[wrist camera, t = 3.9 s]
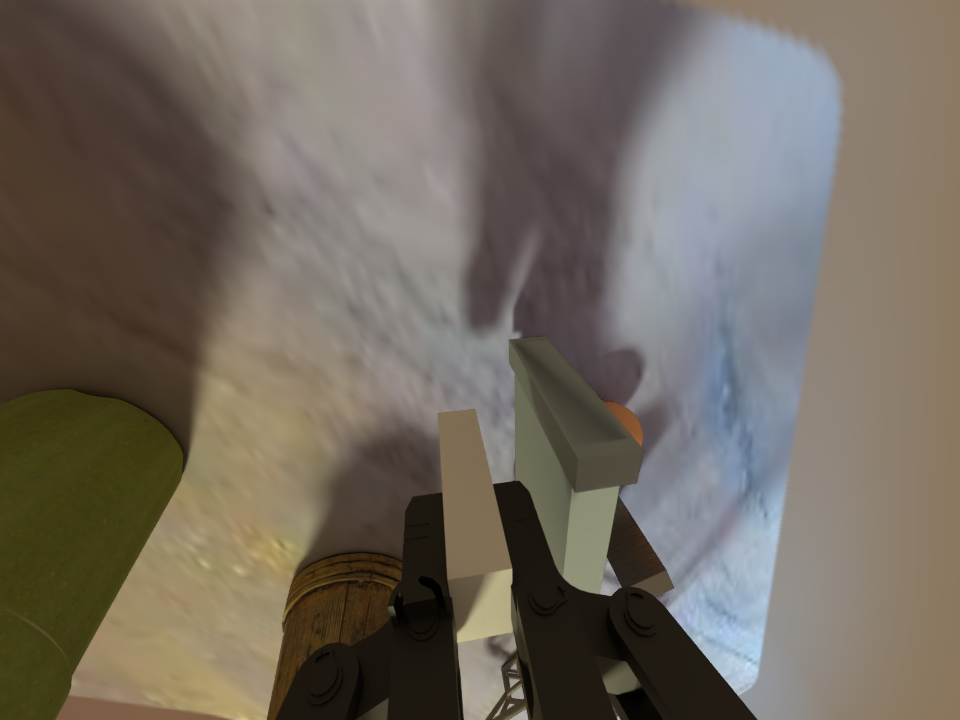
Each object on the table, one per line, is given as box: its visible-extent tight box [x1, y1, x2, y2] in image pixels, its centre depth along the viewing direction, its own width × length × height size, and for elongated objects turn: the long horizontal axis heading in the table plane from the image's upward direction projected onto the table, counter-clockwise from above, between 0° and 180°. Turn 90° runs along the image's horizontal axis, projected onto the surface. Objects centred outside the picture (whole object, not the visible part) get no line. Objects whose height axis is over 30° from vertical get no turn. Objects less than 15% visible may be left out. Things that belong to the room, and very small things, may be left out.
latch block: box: [607, 496, 674, 597], centre depth 20 cm, size 2×2×6 cm
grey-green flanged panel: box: [509, 336, 644, 594], centre depth 15 cm, size 11×2×8 cm, turn 3°
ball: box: [603, 401, 643, 447], centre depth 18 cm, size 4×4×4 cm
